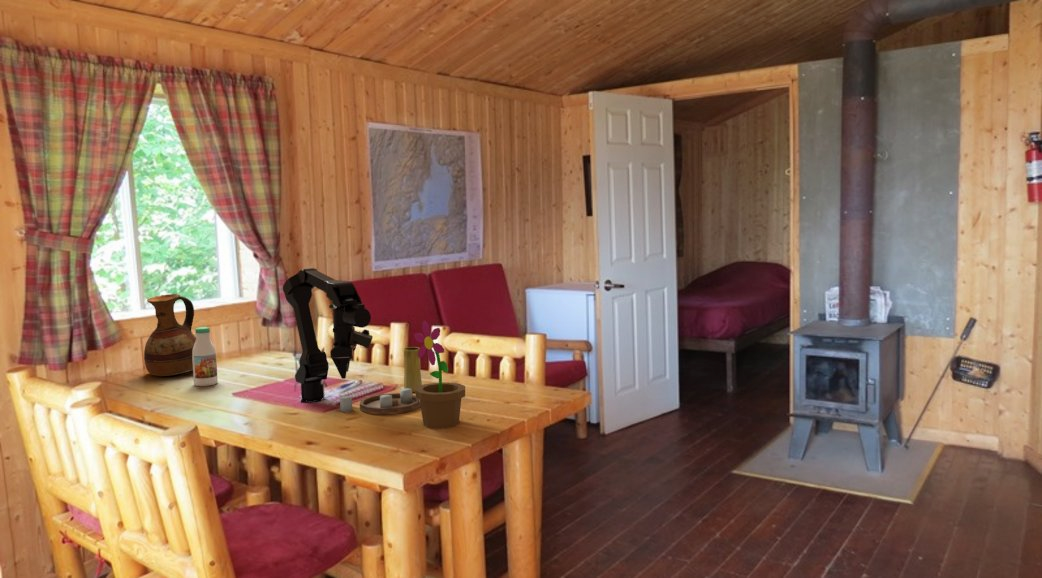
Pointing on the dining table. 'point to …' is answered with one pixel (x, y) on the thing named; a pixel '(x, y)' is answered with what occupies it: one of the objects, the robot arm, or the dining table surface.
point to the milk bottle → (204, 359)
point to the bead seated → (406, 395)
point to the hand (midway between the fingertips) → (345, 375)
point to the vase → (412, 368)
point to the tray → (373, 407)
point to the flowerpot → (437, 387)
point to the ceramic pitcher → (170, 338)
